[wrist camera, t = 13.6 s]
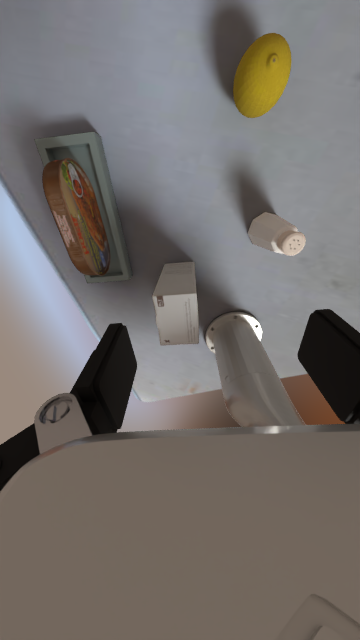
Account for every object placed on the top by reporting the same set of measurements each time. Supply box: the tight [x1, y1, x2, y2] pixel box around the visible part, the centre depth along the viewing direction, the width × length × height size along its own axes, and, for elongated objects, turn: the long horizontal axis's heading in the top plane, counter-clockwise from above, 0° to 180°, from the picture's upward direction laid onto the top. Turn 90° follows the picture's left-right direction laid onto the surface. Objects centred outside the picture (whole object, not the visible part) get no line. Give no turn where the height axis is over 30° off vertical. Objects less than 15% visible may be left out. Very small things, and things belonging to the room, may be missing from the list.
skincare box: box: [152, 262, 199, 345], centre depth 32 cm, size 8×6×15 cm
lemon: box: [233, 33, 291, 118], centre depth 22 cm, size 6×6×8 cm
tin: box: [42, 158, 111, 276], centre depth 29 cm, size 15×3×8 cm, turn 5°
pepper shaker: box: [248, 212, 306, 256], centre depth 29 cm, size 5×5×11 cm
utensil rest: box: [34, 132, 132, 283], centre depth 32 cm, size 20×8×2 cm, turn 5°
